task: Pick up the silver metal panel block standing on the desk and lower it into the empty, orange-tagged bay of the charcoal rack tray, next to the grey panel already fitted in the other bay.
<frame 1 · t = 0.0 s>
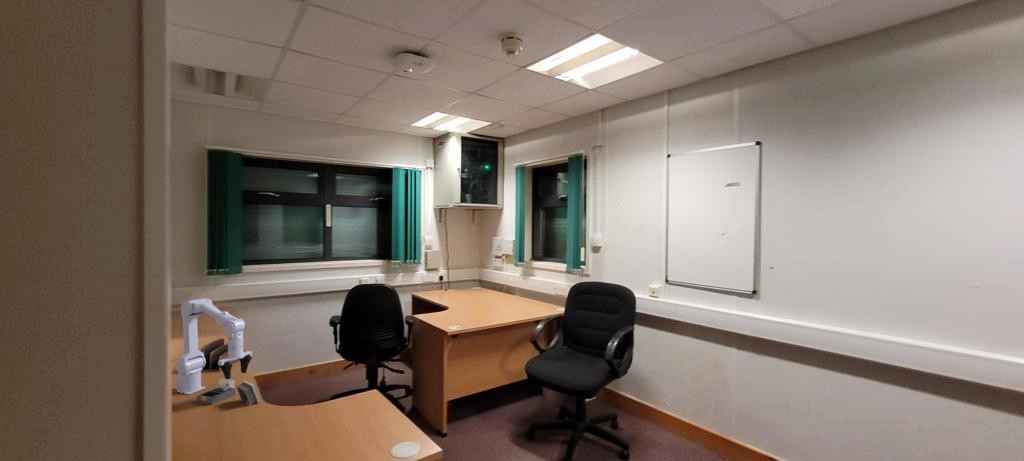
hand: (235, 375, 181), 10 cm above the table, tool pointing down, fingers open, 7 cm apart
electrical switch: (248, 403, 176), on the table
panel: (226, 390, 189), on the table
letter holder: (221, 366, 222), on the table
rack: (216, 398, 180), on the table
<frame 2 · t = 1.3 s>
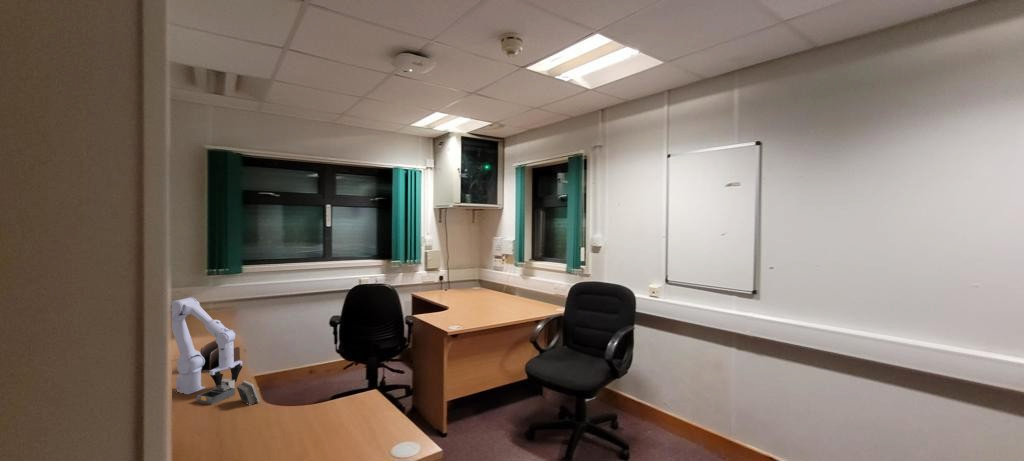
hand: (226, 384, 189), 3 cm above the table, tool pointing down, fingers open, 7 cm apart
nothing on the table moved.
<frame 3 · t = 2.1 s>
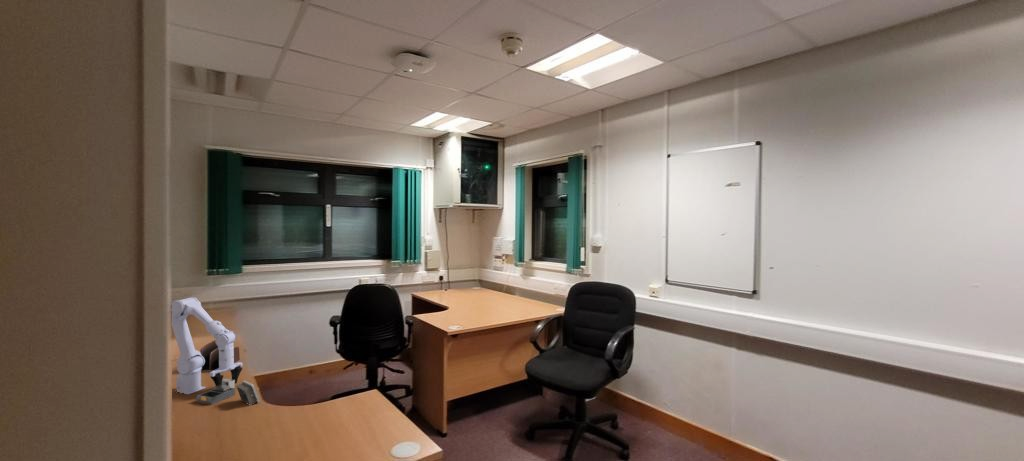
hand: (227, 386, 189), 2 cm above the table, tool pointing down, fingers open, 7 cm apart
nothing on the table moved.
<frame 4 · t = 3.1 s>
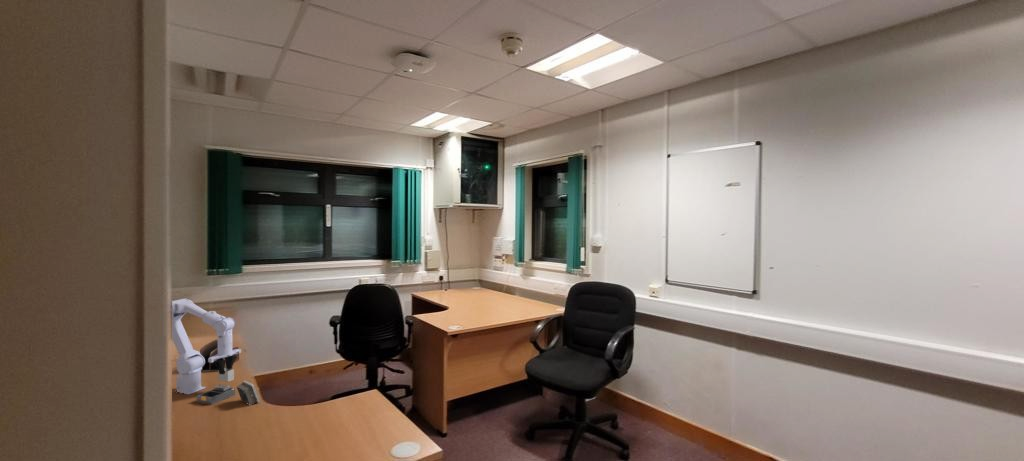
hand: (225, 372, 188), 9 cm above the table, tool pointing down, fingers closed on panel, 3 cm apart
panel: (226, 380, 188), point 5 cm above the table, touching gripper
everything else where it was.
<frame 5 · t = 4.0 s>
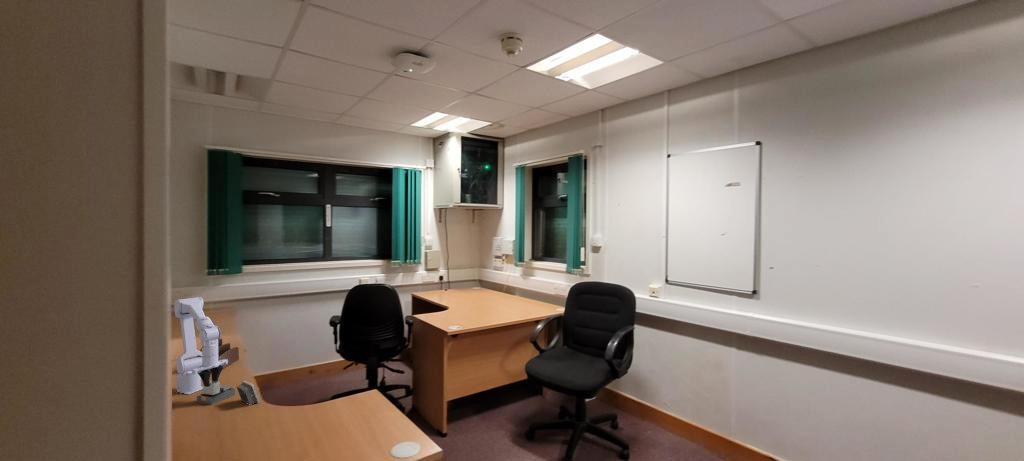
hand: (210, 384, 177), 7 cm above the table, tool pointing down, fingers closed on panel, 3 cm apart
panel: (211, 392, 177), point 4 cm above the table, touching gripper
everything else where it was.
when the fingers open (3 cm above the table, at t = 4.9 s): panel stays where it is, resting on rack.
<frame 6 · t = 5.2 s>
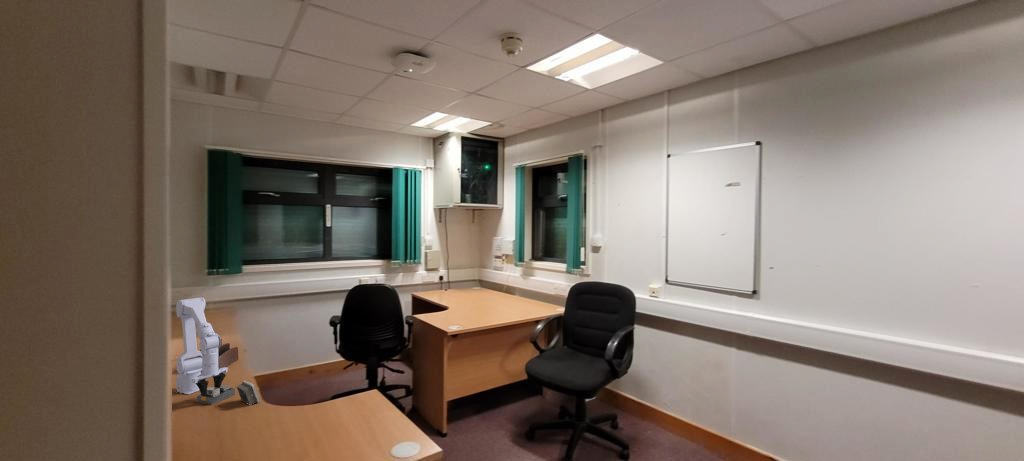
hand: (210, 393, 178), 3 cm above the table, tool pointing down, fingers open, 5 cm apart
panel: (211, 399, 177), point 1 cm above the table, touching rack
everything else where it was.
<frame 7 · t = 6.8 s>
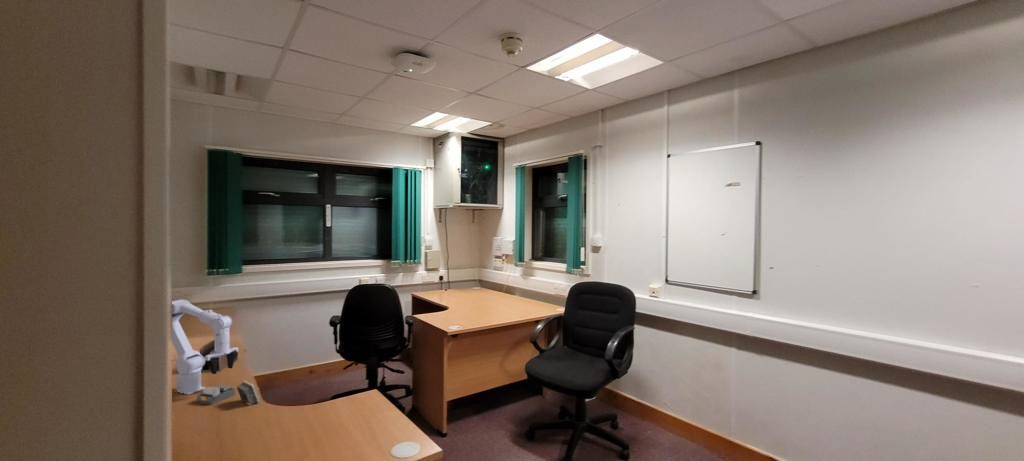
hand: (222, 370, 187), 10 cm above the table, tool pointing down, fingers open, 7 cm apart
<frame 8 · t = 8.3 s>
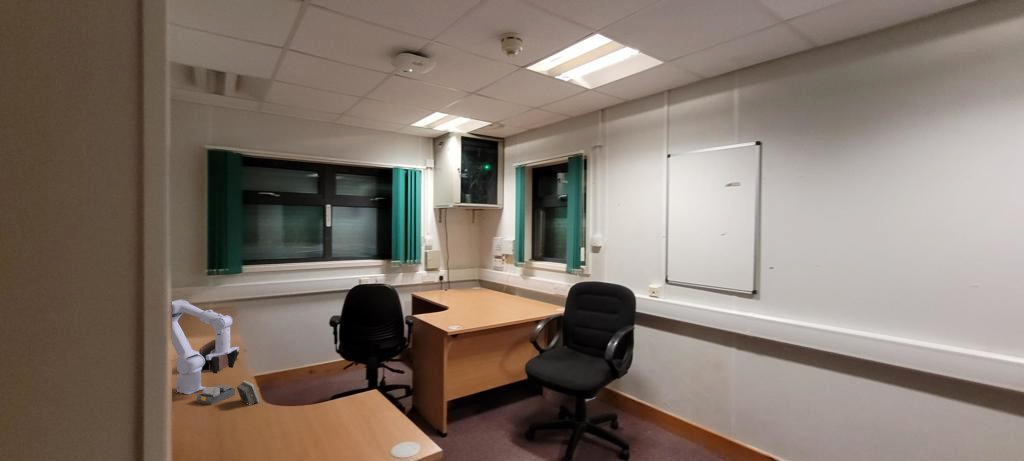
hand: (223, 370, 188), 10 cm above the table, tool pointing down, fingers open, 7 cm apart
at the end: panel 0.5 cm from the target spot on the rack, point 0.6 cm above the rack's base; panel tilted 2°; the gripper is holding nothing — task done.
